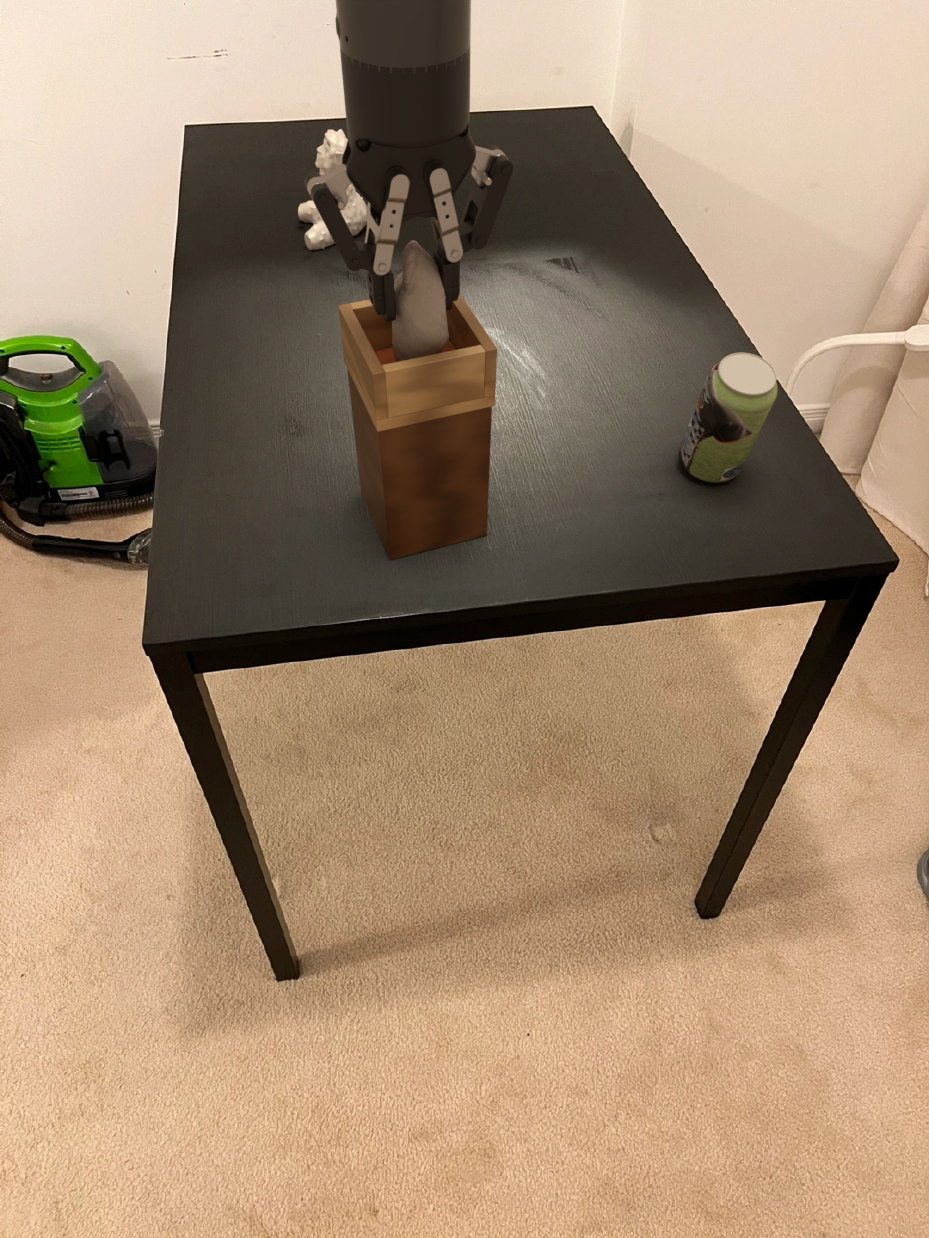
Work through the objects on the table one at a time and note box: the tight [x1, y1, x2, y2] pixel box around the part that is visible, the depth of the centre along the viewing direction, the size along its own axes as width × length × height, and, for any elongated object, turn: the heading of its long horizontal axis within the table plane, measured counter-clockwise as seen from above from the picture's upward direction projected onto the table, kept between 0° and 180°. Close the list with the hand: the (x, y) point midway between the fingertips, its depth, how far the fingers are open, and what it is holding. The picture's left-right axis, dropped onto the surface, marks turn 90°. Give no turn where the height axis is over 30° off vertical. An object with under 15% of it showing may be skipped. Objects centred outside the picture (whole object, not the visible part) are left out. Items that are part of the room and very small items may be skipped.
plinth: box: [346, 368, 493, 561], centre depth 74 cm, size 9×9×14 cm
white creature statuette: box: [297, 128, 368, 251], centre depth 107 cm, size 10×9×12 cm
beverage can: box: [678, 352, 778, 483], centre depth 78 cm, size 6×7×12 cm
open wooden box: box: [337, 293, 498, 432], centre depth 66 cm, size 9×9×5 cm
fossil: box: [392, 240, 449, 362], centre depth 63 cm, size 6×4×10 cm, turn 26°
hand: (415, 309), depth 63 cm, fingers open, 3 cm apart
